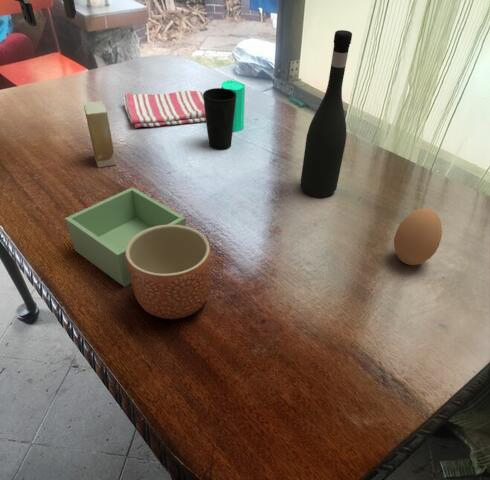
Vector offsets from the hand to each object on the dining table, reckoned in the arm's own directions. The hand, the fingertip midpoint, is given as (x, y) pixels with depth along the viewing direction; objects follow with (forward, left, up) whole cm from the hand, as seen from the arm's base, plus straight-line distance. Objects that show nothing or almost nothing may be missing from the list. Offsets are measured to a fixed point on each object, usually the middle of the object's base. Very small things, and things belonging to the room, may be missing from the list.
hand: (52, 21), depth 91 cm
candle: (+35, -17, -26) cm, 47 cm away
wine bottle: (+25, -52, -26) cm, 64 cm away
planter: (-21, -56, -26) cm, 66 cm away
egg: (+16, -79, -26) cm, 85 cm away
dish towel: (+29, +1, -26) cm, 39 cm away
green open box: (-17, -40, -26) cm, 51 cm away
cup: (+25, -22, -26) cm, 43 cm away
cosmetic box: (0, -9, -26) cm, 28 cm away
